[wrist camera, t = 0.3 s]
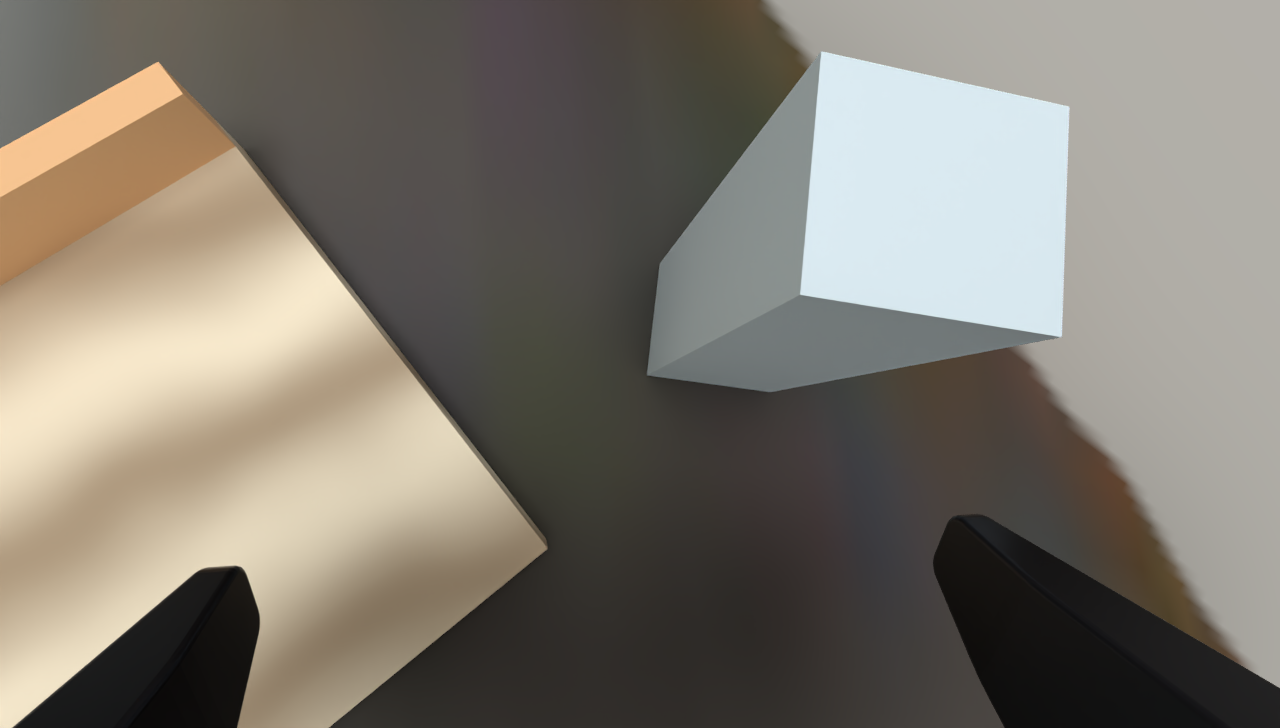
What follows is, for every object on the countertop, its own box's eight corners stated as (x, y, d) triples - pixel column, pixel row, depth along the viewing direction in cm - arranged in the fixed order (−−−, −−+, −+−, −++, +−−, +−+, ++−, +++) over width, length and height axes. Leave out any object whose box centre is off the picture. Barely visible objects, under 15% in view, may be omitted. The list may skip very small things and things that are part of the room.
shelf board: (545, 538, 21) (547, 548, 20) (-59, 1029, 17) (-133, 1104, 16) (243, 148, 21) (214, 119, 19) (-440, 555, 17) (-564, 570, 15)
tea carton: (770, 392, 23) (1061, 337, 11) (646, 375, 23) (800, 294, 10) (780, 276, 24) (1069, 92, 11) (660, 256, 23) (822, 36, 10)
